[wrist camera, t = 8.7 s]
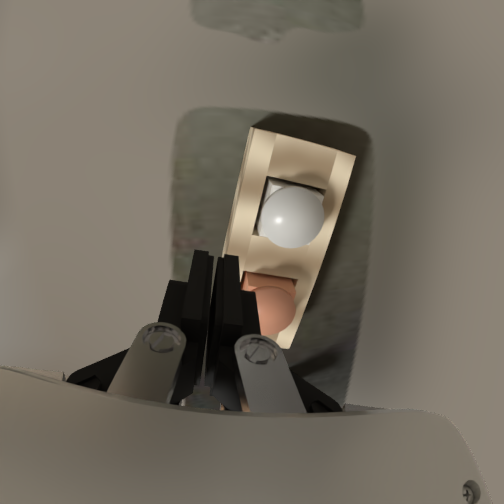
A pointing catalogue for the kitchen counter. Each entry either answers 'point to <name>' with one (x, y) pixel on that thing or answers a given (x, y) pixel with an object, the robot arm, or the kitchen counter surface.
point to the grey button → (289, 213)
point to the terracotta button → (271, 300)
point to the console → (248, 199)
